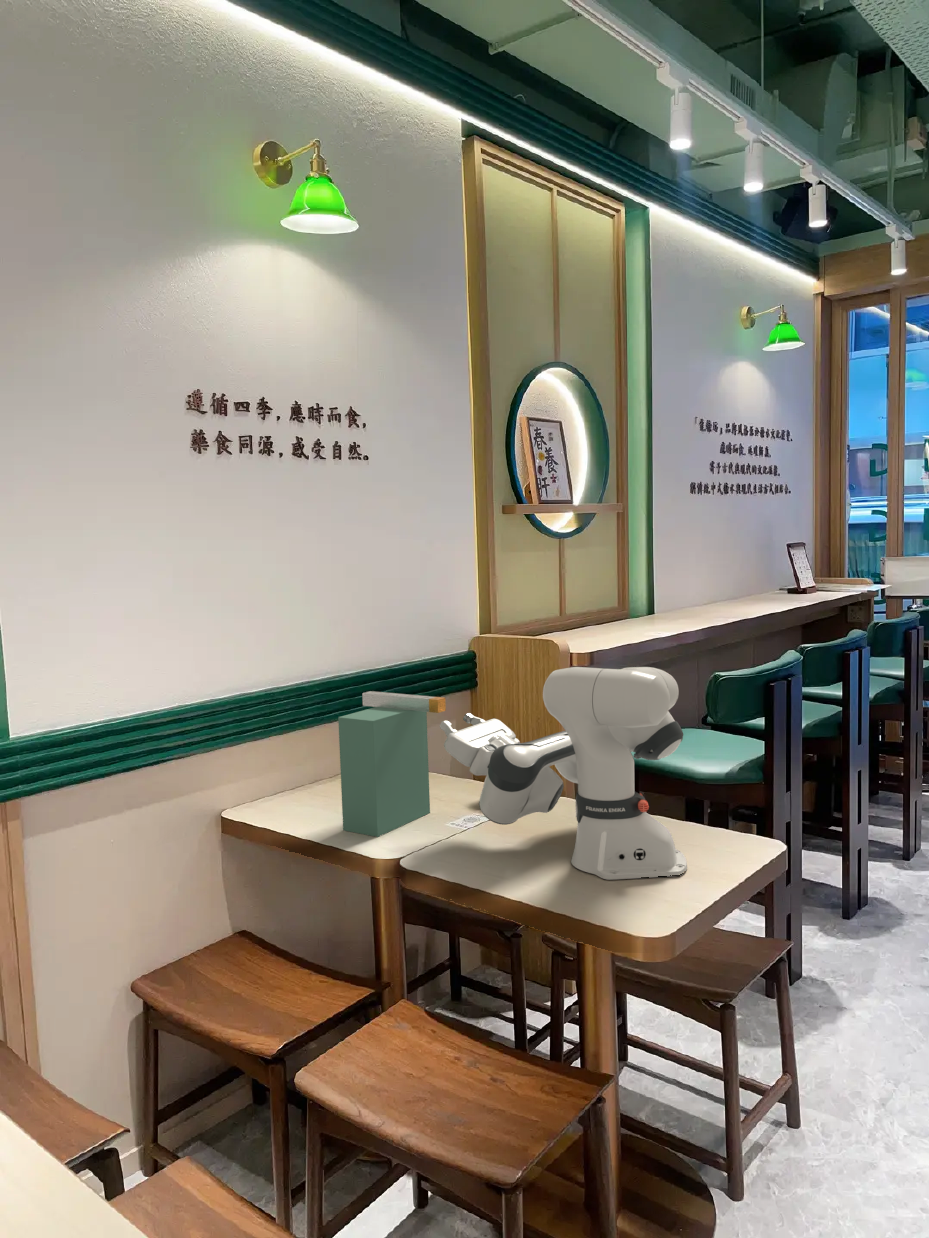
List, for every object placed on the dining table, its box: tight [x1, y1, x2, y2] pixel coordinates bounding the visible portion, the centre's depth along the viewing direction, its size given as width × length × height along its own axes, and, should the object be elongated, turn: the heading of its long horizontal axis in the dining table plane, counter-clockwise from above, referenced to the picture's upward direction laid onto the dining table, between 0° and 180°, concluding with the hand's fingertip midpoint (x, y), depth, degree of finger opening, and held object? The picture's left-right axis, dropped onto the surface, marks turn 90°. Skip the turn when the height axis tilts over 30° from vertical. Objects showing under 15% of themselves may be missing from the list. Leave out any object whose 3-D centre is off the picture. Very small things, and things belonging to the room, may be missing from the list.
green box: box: [337, 707, 431, 838], centre depth 215 cm, size 10×20×26 cm, turn 147°
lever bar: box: [362, 690, 447, 714], centre depth 217 cm, size 22×3×3 cm, turn 57°
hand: (454, 719), depth 210 cm, fingers open, 8 cm apart
